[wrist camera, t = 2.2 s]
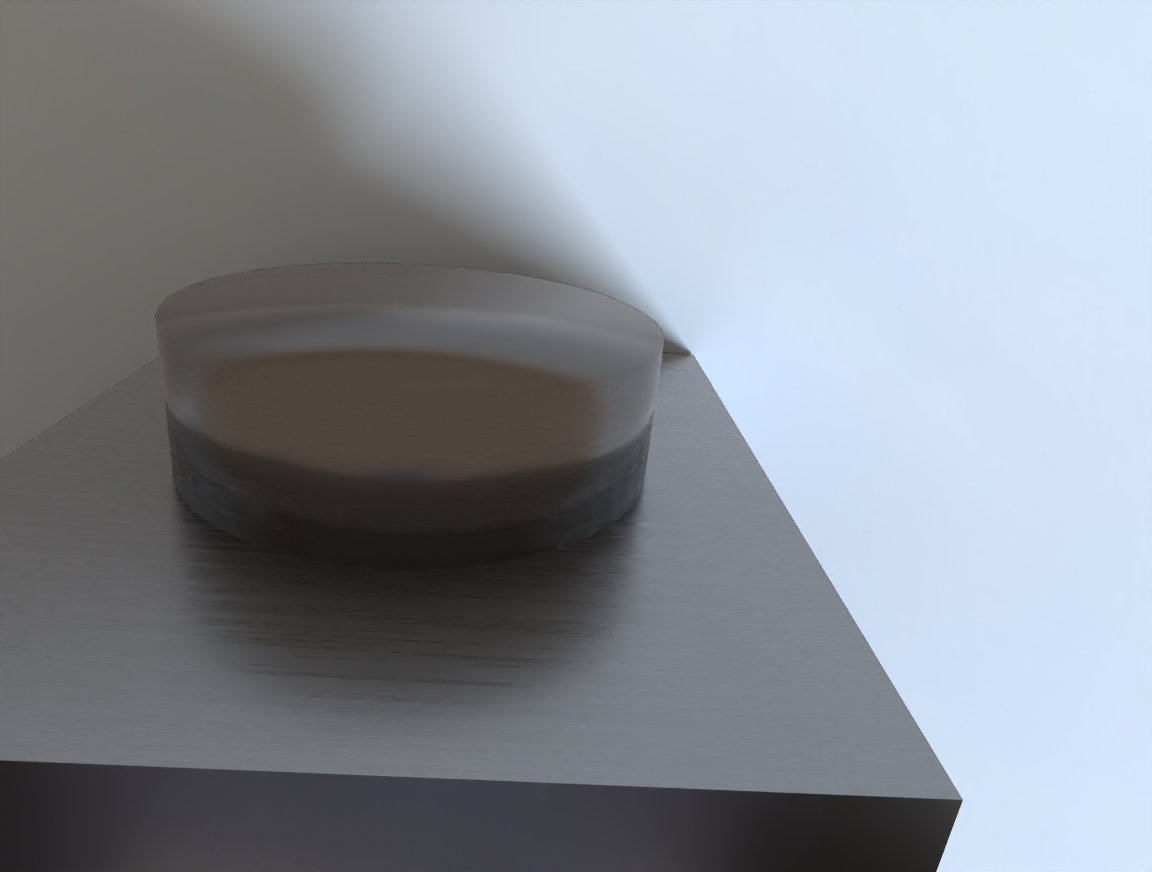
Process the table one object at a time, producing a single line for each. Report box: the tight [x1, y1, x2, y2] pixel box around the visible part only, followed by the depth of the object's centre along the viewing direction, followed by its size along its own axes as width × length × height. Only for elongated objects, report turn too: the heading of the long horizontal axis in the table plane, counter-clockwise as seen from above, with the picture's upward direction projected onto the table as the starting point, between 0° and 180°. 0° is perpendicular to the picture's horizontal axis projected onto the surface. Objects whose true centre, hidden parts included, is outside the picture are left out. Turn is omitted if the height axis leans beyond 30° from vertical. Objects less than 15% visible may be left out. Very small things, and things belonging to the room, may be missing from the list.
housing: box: [0, 263, 963, 872], centre depth 7 cm, size 9×5×6 cm, turn 174°
